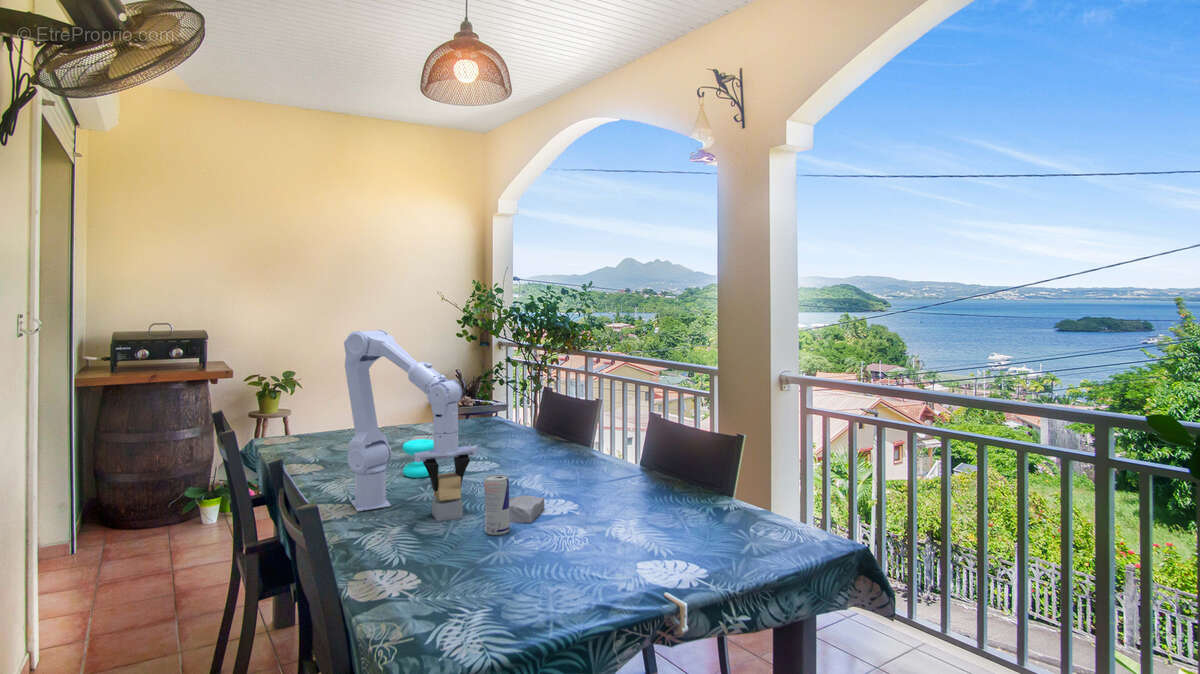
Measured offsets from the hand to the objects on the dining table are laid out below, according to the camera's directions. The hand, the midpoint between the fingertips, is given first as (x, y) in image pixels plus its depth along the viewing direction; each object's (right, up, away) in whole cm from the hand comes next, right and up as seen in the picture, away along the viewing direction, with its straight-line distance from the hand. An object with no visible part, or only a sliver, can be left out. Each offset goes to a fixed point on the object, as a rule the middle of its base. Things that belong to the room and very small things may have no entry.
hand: (446, 488), depth 152 cm
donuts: (-17, -6, +40) cm, 44 cm away
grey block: (0, -7, 0) cm, 7 cm away
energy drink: (+14, -7, -11) cm, 19 cm away
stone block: (+17, -7, 0) cm, 18 cm away
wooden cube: (0, -2, 0) cm, 2 cm away
